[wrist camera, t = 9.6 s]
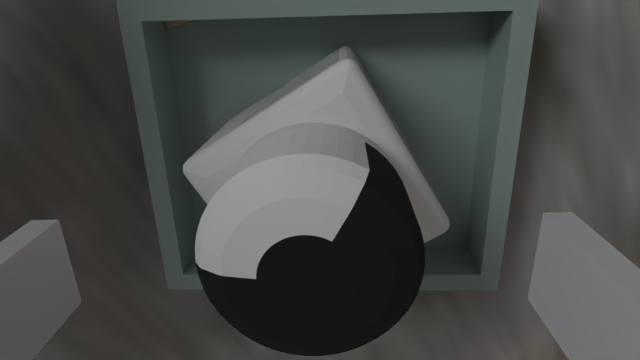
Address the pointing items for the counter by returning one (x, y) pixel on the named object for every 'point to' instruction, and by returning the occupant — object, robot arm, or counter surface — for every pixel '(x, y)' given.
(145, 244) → the counter surface
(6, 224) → the counter surface
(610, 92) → the counter surface
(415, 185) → the container
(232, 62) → the box
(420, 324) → the counter surface
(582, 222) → the robot arm
